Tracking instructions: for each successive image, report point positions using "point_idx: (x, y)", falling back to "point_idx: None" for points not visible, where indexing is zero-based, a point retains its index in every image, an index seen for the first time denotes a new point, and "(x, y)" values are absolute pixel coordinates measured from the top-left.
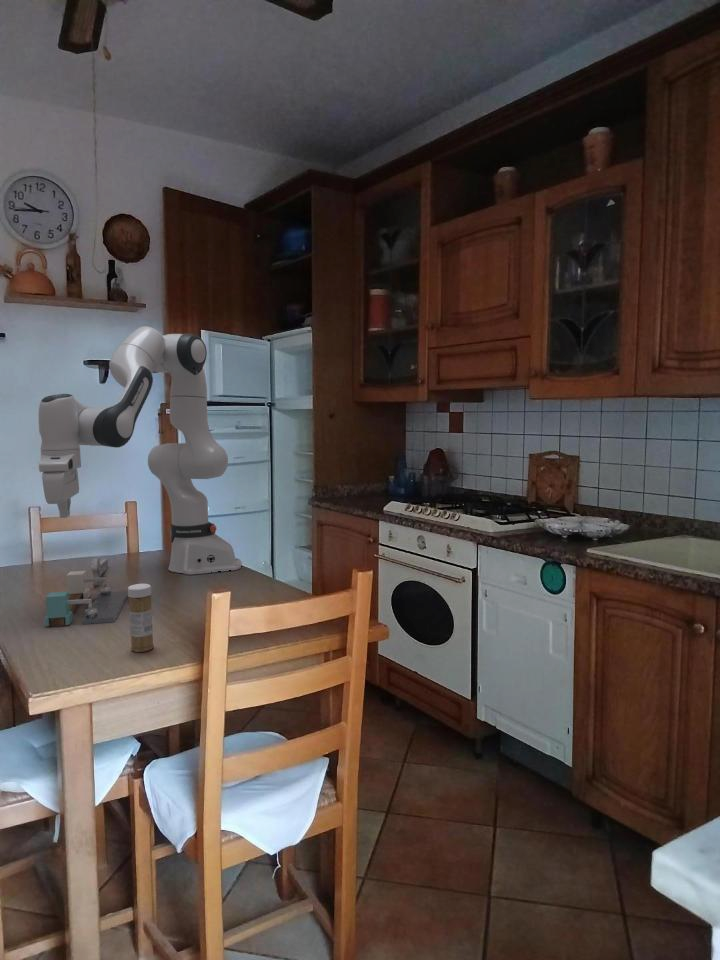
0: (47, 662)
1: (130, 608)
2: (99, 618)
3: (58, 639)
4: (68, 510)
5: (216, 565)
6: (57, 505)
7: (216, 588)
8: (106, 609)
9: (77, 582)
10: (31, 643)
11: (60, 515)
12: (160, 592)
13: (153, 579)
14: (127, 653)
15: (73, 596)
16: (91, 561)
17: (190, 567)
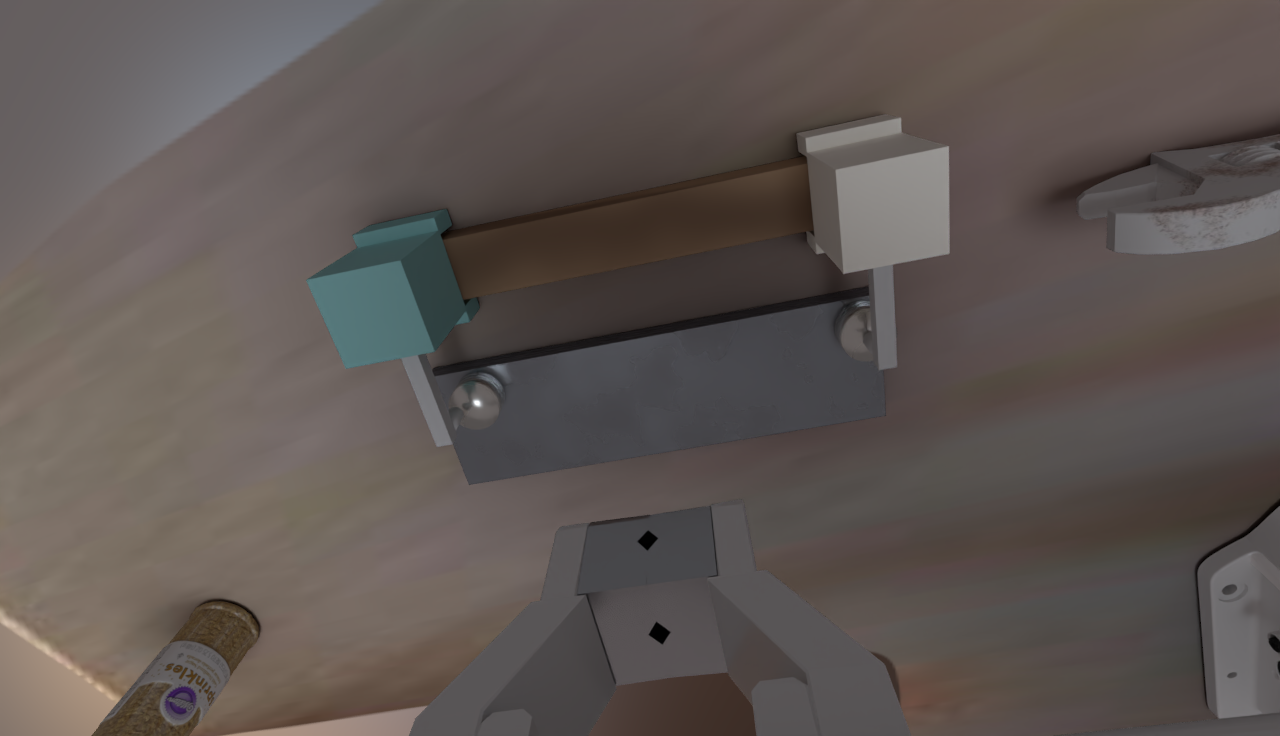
0: (29, 408)
1: (93, 733)
2: None
3: (244, 348)
4: (671, 667)
5: (1260, 667)
6: (432, 702)
7: (916, 685)
8: (572, 423)
9: (827, 226)
10: (173, 263)
11: (556, 551)
12: (901, 519)
13: (1180, 431)
14: (184, 596)
15: (757, 206)
16: (1195, 212)
17: (1265, 582)
